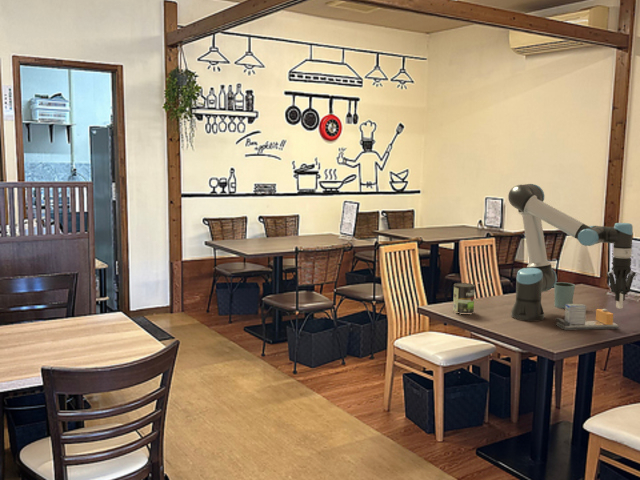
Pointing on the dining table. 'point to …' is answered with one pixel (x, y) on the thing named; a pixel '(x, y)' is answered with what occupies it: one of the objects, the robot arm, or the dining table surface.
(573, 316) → the medicine box
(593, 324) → the grey shallow tray
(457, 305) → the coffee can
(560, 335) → the dining table surface
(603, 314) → the rail end clamp
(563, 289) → the green cup
